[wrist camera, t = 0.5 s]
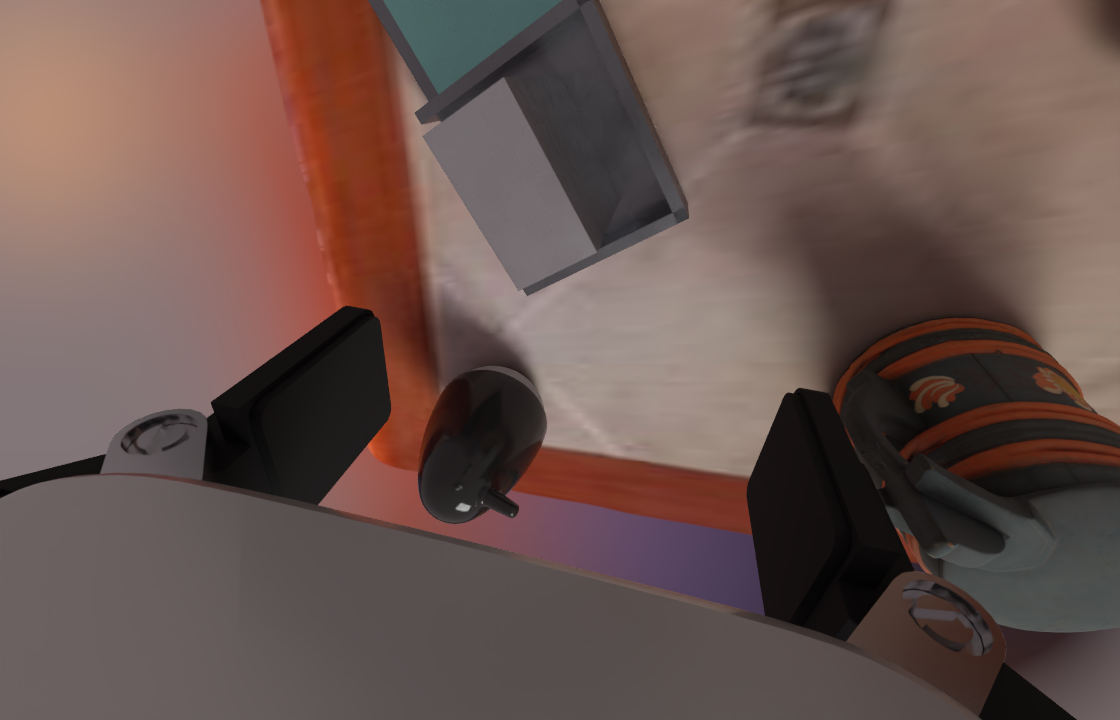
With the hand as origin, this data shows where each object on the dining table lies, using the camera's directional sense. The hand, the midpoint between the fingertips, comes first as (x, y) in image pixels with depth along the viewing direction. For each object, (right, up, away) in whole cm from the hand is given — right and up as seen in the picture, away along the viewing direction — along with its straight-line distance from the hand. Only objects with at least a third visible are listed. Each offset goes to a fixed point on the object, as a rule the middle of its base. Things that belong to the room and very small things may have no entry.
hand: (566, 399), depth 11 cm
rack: (-3, +21, +22) cm, 30 cm away
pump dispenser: (-5, -2, +37) cm, 37 cm away
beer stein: (+28, -1, +28) cm, 39 cm away
